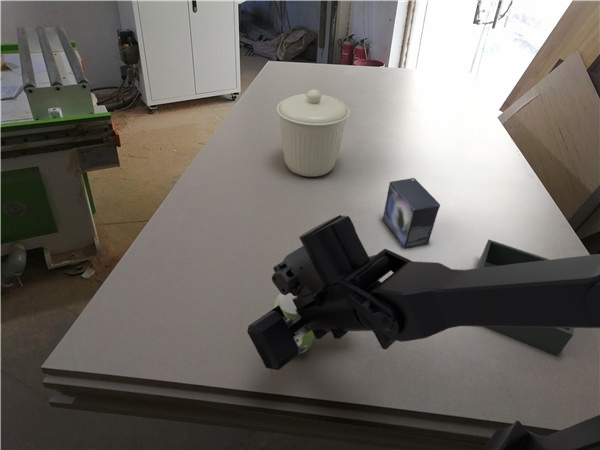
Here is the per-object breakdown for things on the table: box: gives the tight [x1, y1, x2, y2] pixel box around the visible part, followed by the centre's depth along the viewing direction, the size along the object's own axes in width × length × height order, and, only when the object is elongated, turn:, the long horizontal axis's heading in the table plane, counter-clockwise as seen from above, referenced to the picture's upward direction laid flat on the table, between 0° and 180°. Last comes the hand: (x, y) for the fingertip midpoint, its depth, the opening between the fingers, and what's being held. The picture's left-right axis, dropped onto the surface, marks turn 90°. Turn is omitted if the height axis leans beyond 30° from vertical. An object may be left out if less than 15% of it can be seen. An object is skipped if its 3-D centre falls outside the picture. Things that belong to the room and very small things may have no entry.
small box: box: [382, 177, 441, 249], centre depth 86 cm, size 11×6×10 cm, turn 17°
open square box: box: [476, 239, 574, 357], centre depth 72 cm, size 17×15×6 cm
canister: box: [276, 89, 351, 178], centre depth 103 cm, size 18×18×21 cm
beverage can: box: [273, 291, 314, 355], centre depth 61 cm, size 6×7×12 cm
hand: (284, 313), depth 61 cm, fingers closed on beverage can, 6 cm apart
